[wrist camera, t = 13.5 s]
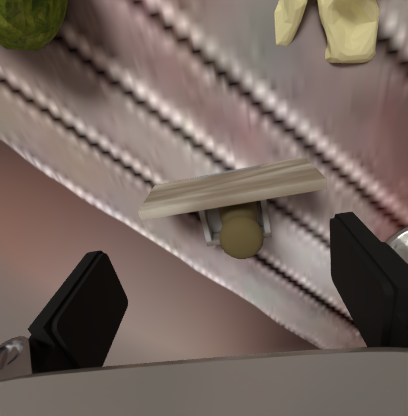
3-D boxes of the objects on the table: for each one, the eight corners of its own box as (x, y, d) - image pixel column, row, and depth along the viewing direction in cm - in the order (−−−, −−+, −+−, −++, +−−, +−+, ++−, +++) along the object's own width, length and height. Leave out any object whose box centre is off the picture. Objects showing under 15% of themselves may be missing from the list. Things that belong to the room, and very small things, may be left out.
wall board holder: (155, 185, 40) (137, 212, 32) (304, 156, 37) (326, 178, 29) (172, 239, 45) (161, 275, 37) (308, 218, 41) (328, 253, 33)
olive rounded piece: (259, 218, 41) (271, 264, 31) (220, 224, 42) (219, 269, 32) (255, 182, 38) (266, 219, 28) (214, 188, 39) (211, 226, 29)
